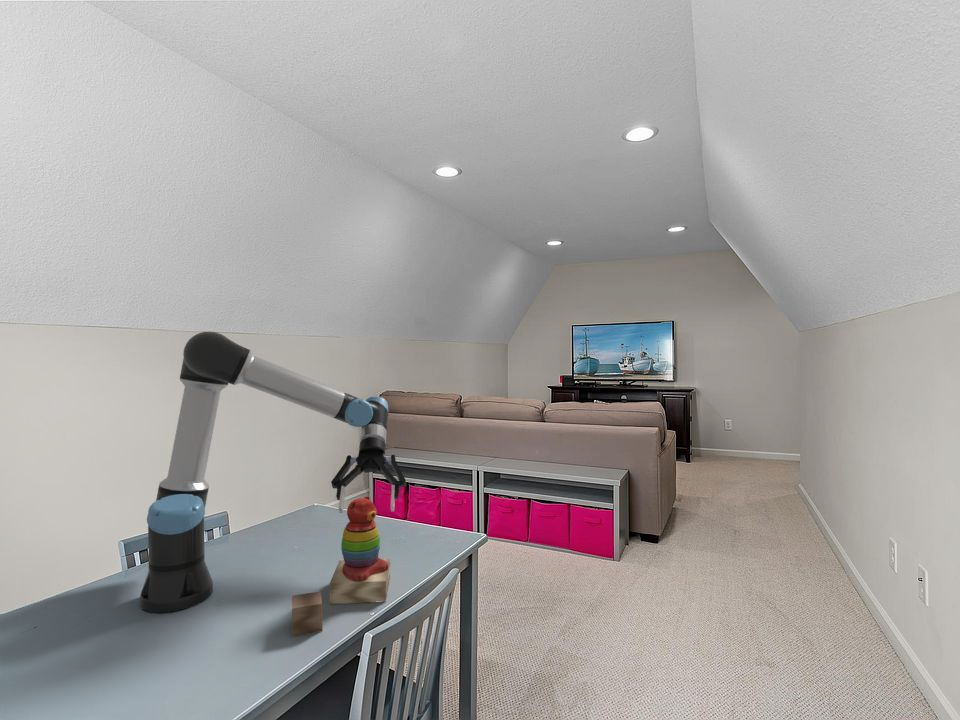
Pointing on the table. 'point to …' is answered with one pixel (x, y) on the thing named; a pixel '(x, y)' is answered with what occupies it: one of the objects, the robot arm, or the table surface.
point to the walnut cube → (306, 613)
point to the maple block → (359, 587)
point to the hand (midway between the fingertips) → (366, 509)
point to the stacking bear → (361, 542)
